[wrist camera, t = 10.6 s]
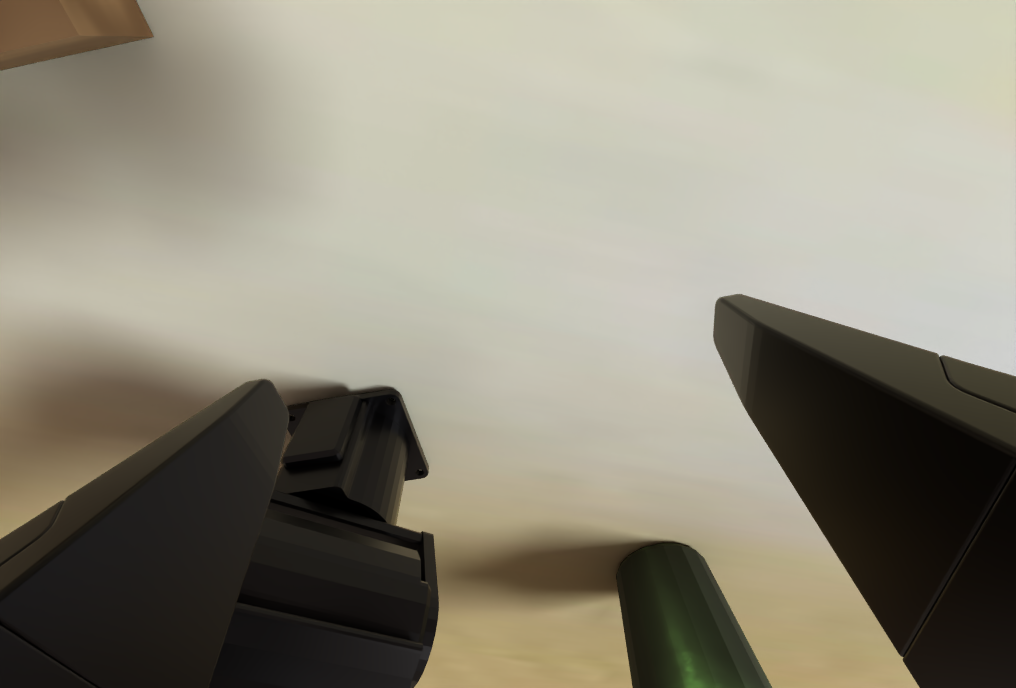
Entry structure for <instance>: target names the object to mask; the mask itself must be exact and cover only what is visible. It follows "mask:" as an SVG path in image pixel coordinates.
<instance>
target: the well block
mask: <svg viewBox="0 0 1016 688" xmlns="http://www.w3.org/2000/svg"><path fill="white" fill-rule="evenodd" d="M151 37H154V36H153V34H152V32H151V30H150V28H149V26H148V24H147V22H146V20H145V18H144V16H143V14H142V12H141V10H140V8H139V6H138V4H137V2H136V0H0V70H4V69H9V68H13V67H18V66H23V65H27V64H32V63H36V62H41V61H45V60H50V59H55V58H59V57H64V56H68V55H73V54H78V53H82V52H87V51H91V50H96V49H100V48H105V47H110V46H114V45H119V44H123V43H128V42H133V41H137V40H142V39H146V38H151Z"/></svg>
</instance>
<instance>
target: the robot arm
mask: <svg viewBox="0 0 1016 688" xmlns="http://www.w3.org/2000/svg"><path fill="white" fill-rule="evenodd" d="M713 337H714V343H715V346H716V348H717V351H718V353H719V355H720V357H721V359H722V361H723V363H724V366H725V368H726V370H727V372H728V374H729V376H730V379H731V381H732V383H733V385H734V387H735V389H736V391H737V394H738V396H739V398H740V400H741V402H742V404H743V406H744V408H745V410H746V411H747V413H748V415H749V416H750V418H751V420H752V421H753V423H754V424H755V426H756V428H757V429H758V431H759V432H760V434H761V436H762V437H763V439H764V440H765V442H766V443H767V445H768V447H769V448H770V450H771V451H772V453H773V455H774V456H775V458H776V459H777V461H778V463H779V464H780V466H781V467H782V469H783V470H784V472H785V474H786V475H787V477H788V478H789V480H790V482H791V483H792V485H793V486H794V488H795V490H796V491H797V493H798V494H799V496H800V497H801V499H802V501H803V502H804V504H805V505H806V507H807V509H808V510H809V512H810V513H811V515H812V517H813V518H814V520H815V521H816V523H817V524H818V526H819V528H820V529H821V531H822V532H823V534H824V536H825V537H826V539H827V540H828V542H829V544H830V545H831V547H832V548H833V550H834V551H835V553H836V555H837V556H838V558H839V559H840V561H841V563H842V564H843V566H844V567H845V569H846V571H847V572H848V574H849V575H850V577H851V578H852V580H853V582H854V583H855V585H856V586H857V588H858V590H859V591H860V593H861V594H862V596H863V598H864V599H865V601H866V602H867V604H868V605H869V607H870V609H871V610H872V612H873V613H874V615H875V617H876V618H877V620H878V621H879V623H880V625H881V626H882V628H883V629H884V631H885V632H886V634H887V636H888V637H889V639H890V640H891V642H892V644H893V645H894V647H895V648H896V650H897V652H898V653H899V655H900V656H902V657H903V662H904V663H905V665H906V667H907V668H908V670H909V671H910V673H911V674H912V676H913V678H914V679H915V681H916V682H917V684H918V686H919V687H920V688H1016V376H1012V375H1009V374H1006V373H1002V372H999V371H995V370H992V369H988V368H985V367H981V366H978V365H974V364H971V363H967V362H964V361H961V360H958V359H954V358H951V357H948V356H944V355H943V356H940V357H939V355H938V354H937V353H934V352H931V351H928V350H924V349H921V348H918V347H914V346H911V345H908V344H904V343H901V342H898V341H894V340H891V339H888V338H884V337H881V336H878V335H874V334H871V333H868V332H865V331H861V330H858V329H855V328H851V327H848V326H845V325H841V324H838V323H835V322H831V321H828V320H825V319H821V318H818V317H815V316H812V315H808V314H805V313H802V312H798V311H795V310H792V309H788V308H785V307H782V306H778V305H775V304H772V303H769V302H765V301H762V300H759V299H755V298H752V297H749V296H745V295H742V294H735V295H730V296H724V297H720V298H719V299H718V300H717V301H716V304H715V316H714V331H713ZM388 398H393V399H395V400H389V399H388ZM290 414H292V415H294V416H291V415H290ZM287 429H288V431H289V433H290V434H291V436H292V438H291V440H290V442H289V444H288V446H287V448H286V450H285V452H284V454H283V456H282V451H283V446H284V442H285V437H286V432H287ZM281 456H282V458H281ZM280 461H281V463H282V464H283V465H282V467H281V469H280V471H279V473H278V470H279V465H280ZM428 471H429V466H428V463H427V461H426V458H425V455H424V453H423V450H422V448H421V445H420V442H419V440H418V437H417V435H416V432H415V429H414V427H413V424H412V422H411V419H410V416H409V414H408V411H407V409H406V406H405V403H404V401H403V398H402V396H401V394H400V393H399V392H398V391H396V390H393V389H389V390H383V391H377V392H371V393H365V394H358V395H349V396H342V397H336V398H330V399H324V400H318V401H312V402H309V403H303V404H297V405H291V406H287V407H286V405H285V403H284V402H283V400H282V398H281V396H280V395H279V393H278V391H277V390H276V388H275V386H274V385H273V383H272V382H271V381H270V380H267V379H260V380H254V381H249V382H246V383H244V384H243V385H241V386H240V387H238V388H236V389H235V390H233V391H232V392H230V393H229V394H227V395H225V396H224V397H222V398H221V399H219V400H218V401H216V402H215V403H213V404H211V405H210V406H208V407H207V408H205V409H204V410H202V411H200V412H199V413H197V414H196V415H194V416H193V417H191V418H190V419H188V420H186V421H185V422H183V423H182V424H180V425H179V426H177V427H176V428H174V429H172V430H171V431H169V432H168V433H166V434H165V435H163V436H161V437H160V438H158V439H157V440H155V441H154V442H152V443H151V444H149V445H147V446H146V447H144V448H143V449H141V450H140V451H138V452H136V453H135V454H133V455H132V456H130V457H129V458H127V459H126V460H124V461H122V462H121V463H119V464H118V465H116V466H115V467H113V468H111V469H110V470H108V471H107V472H105V473H104V474H102V475H101V476H99V477H97V478H96V479H94V480H93V481H91V482H90V483H88V484H87V485H85V486H83V487H82V488H80V489H79V490H77V491H76V492H74V493H72V494H71V495H69V496H68V497H67V498H66V499H65V501H60V502H58V503H57V504H55V505H54V506H52V507H50V508H49V509H47V510H46V511H44V512H43V513H41V514H40V515H38V516H36V517H35V518H33V519H32V520H30V521H28V522H27V523H25V524H24V525H22V526H20V527H19V528H17V529H16V530H14V531H12V532H11V533H9V534H8V535H6V536H5V537H3V538H1V539H0V688H414V687H415V685H416V684H417V683H418V681H419V679H420V677H421V675H422V674H423V671H424V669H425V666H426V664H427V661H428V658H429V655H430V652H431V649H432V645H433V641H434V637H435V632H436V627H437V621H438V610H439V601H438V587H437V574H436V562H435V549H434V537H433V534H430V533H427V532H423V531H422V532H421V533H419V532H416V531H413V530H409V529H406V528H402V527H399V526H396V522H397V516H398V511H399V506H400V501H401V495H402V490H403V485H404V481H407V480H414V479H421V478H425V477H426V476H427V475H428Z"/></svg>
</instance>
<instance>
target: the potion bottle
mask: <svg viewBox="0 0 1016 688" xmlns="http://www.w3.org/2000/svg"><path fill="white" fill-rule="evenodd" d="M616 579H617V586H618V592H619V599H620V606H621V612H622V619H623V626H624V632H625V639H626V646H627V652H628V659H629V666H630V673H631V679H632V686H633V688H772V686H771V684H770V683H769V681H768V679H767V677H766V675H765V673H764V671H763V669H762V667H761V665H760V664H759V662H758V660H757V658H756V656H755V654H754V652H753V650H752V648H751V646H750V645H749V643H748V641H747V639H746V637H745V635H744V633H743V631H742V629H741V627H740V625H739V624H738V622H737V620H736V618H735V616H734V614H733V612H732V610H731V608H730V606H729V605H728V603H727V601H726V599H725V597H724V595H723V593H722V591H721V589H720V587H719V586H718V584H717V582H716V580H715V578H714V576H713V574H712V572H711V570H710V568H709V567H708V565H707V563H706V561H705V559H704V557H703V556H701V555H700V554H699V553H698V552H697V551H696V550H694V549H692V548H690V547H687V546H684V545H681V544H673V543H661V544H656V545H652V546H647V547H644V548H642V549H640V550H638V551H636V552H634V553H632V554H631V555H629V556H628V557H627V558H626V559H625V560H624V561H623V562H622V564H621V565H620V567H619V570H618V573H617V576H616Z"/></svg>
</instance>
